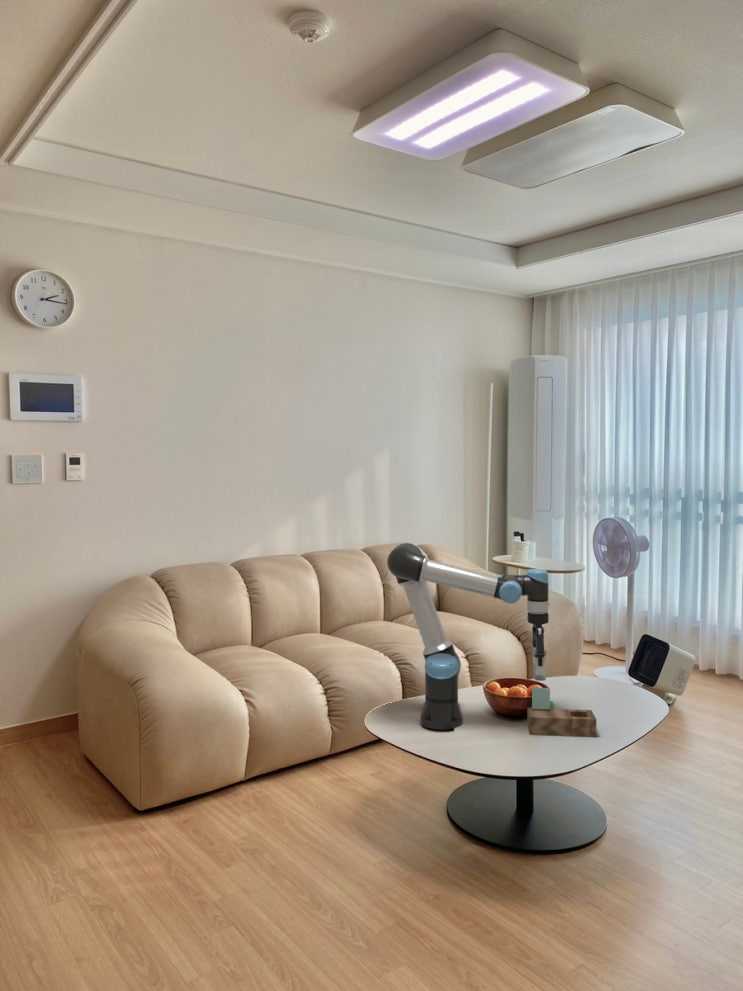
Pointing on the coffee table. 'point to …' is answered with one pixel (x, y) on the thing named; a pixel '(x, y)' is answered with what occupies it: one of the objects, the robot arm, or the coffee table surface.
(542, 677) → the grey cylinder
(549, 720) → the block
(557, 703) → the coffee table surface
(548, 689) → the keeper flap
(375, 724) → the coffee table surface
